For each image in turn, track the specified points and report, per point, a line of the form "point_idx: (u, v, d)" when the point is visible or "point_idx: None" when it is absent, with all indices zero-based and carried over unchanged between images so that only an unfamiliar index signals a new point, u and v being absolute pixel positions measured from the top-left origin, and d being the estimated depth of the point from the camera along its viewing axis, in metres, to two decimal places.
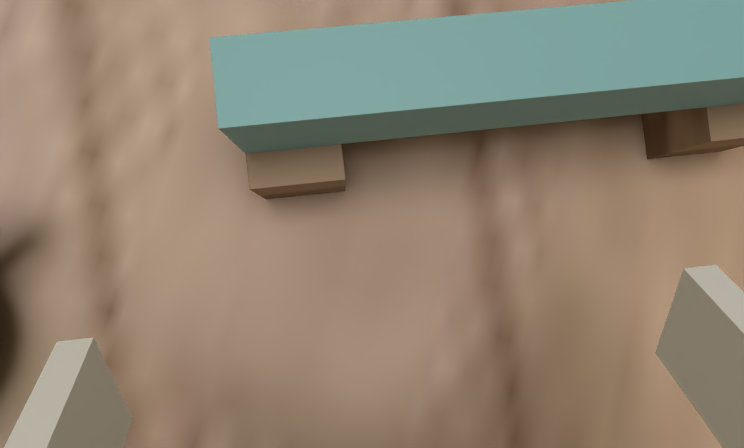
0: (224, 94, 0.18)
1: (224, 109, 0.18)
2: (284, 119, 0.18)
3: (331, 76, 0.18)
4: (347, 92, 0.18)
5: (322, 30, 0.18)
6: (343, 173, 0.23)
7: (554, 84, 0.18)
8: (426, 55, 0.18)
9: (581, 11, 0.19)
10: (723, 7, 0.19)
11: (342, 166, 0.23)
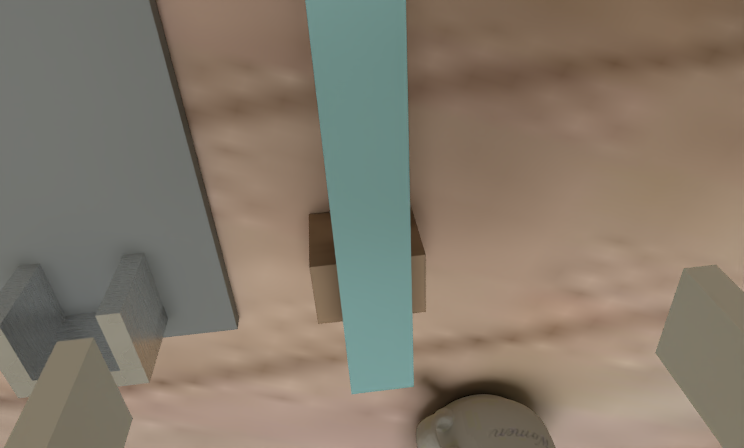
0: (391, 385, 0.26)
1: (401, 384, 0.26)
2: (411, 355, 0.25)
3: (381, 332, 0.24)
4: (394, 323, 0.24)
5: (347, 338, 0.24)
6: (420, 255, 0.28)
7: (399, 185, 0.20)
8: (369, 277, 0.22)
9: (330, 160, 0.19)
10: (324, 12, 0.16)
11: (414, 256, 0.28)
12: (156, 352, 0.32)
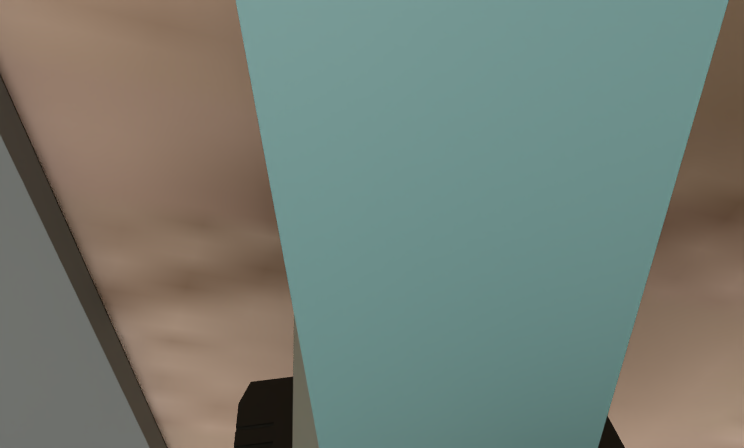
0: None
1: None
2: None
3: None
4: None
5: None
6: None
7: None
8: None
9: None
10: (366, 380, 0.05)
11: None
12: None
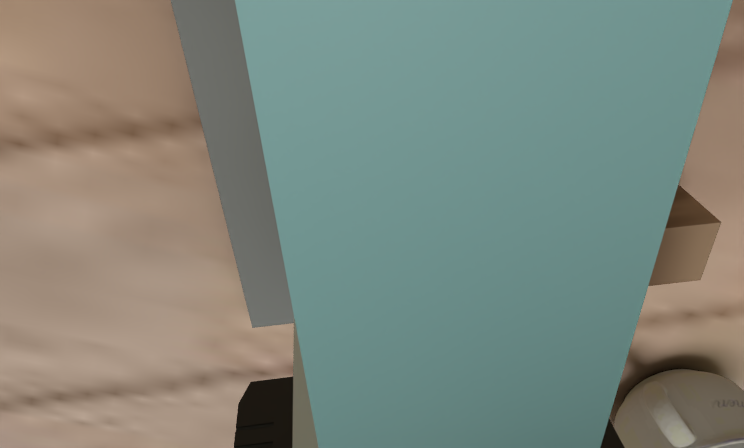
0: None
1: None
2: None
3: None
4: None
5: None
6: (715, 223, 0.29)
7: None
8: None
9: None
10: (367, 382, 0.05)
11: (710, 224, 0.29)
12: None
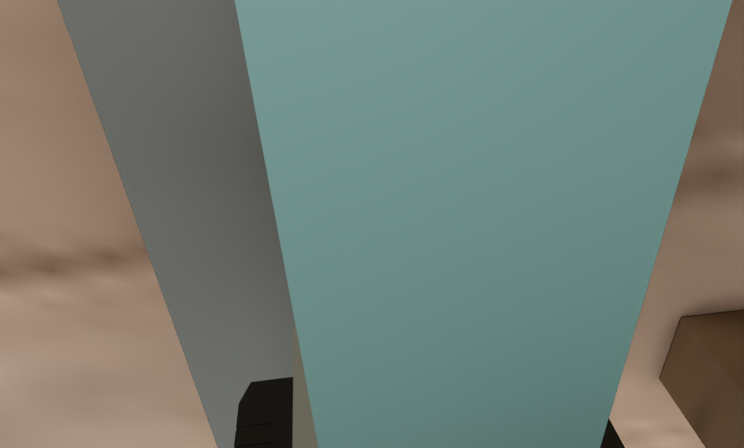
0: None
1: None
2: None
3: None
4: None
5: None
6: None
7: None
8: None
9: None
10: (367, 382, 0.05)
11: None
12: None
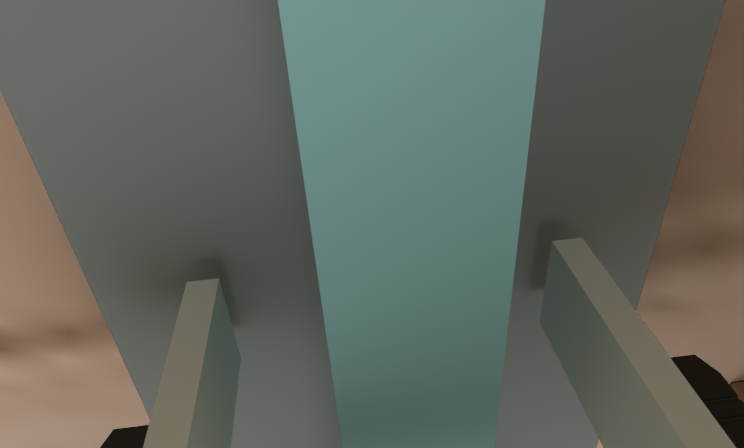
0: None
1: None
2: None
3: None
4: None
5: None
6: None
7: None
8: None
9: (351, 429, 0.10)
10: (347, 204, 0.07)
11: None
12: None
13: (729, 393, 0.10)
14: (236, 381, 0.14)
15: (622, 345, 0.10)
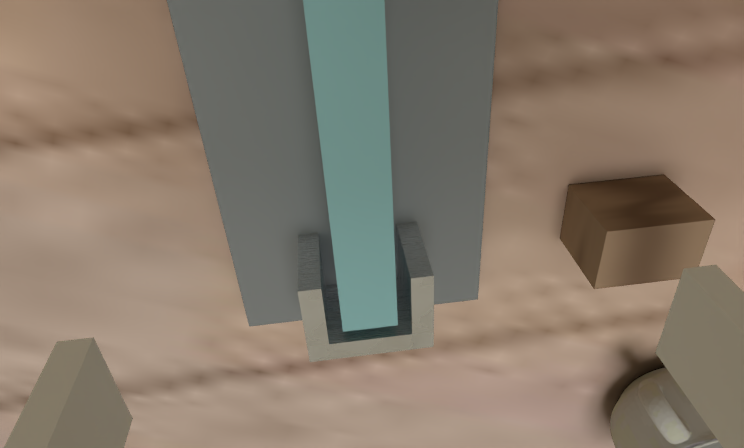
0: (377, 323, 0.30)
1: (386, 323, 0.30)
2: (394, 295, 0.29)
3: (368, 273, 0.28)
4: (379, 264, 0.27)
5: (338, 278, 0.28)
6: (710, 220, 0.30)
7: (381, 136, 0.24)
8: (356, 221, 0.26)
9: (322, 114, 0.23)
10: None
11: (704, 221, 0.30)
12: None
13: None
14: None
15: None
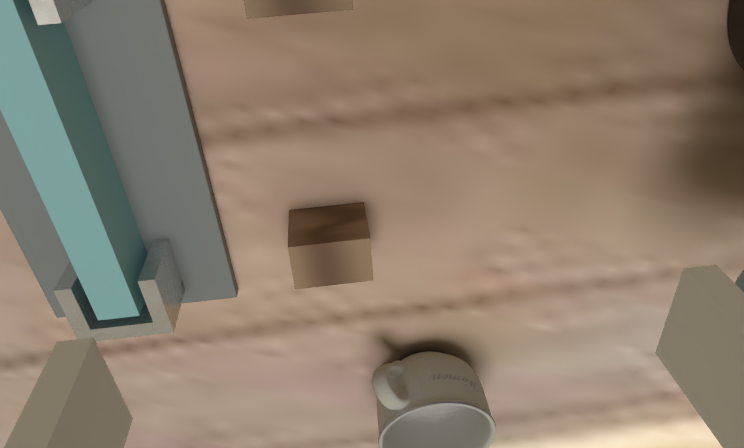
0: (123, 314, 0.40)
1: (130, 314, 0.40)
2: (129, 293, 0.39)
3: (103, 277, 0.38)
4: (109, 271, 0.38)
5: (81, 281, 0.38)
6: (366, 238, 0.40)
7: (80, 184, 0.34)
8: (81, 240, 0.36)
9: (32, 170, 0.33)
10: (1, 91, 0.31)
11: (362, 239, 0.40)
12: (177, 312, 0.43)
13: None
14: None
15: None
